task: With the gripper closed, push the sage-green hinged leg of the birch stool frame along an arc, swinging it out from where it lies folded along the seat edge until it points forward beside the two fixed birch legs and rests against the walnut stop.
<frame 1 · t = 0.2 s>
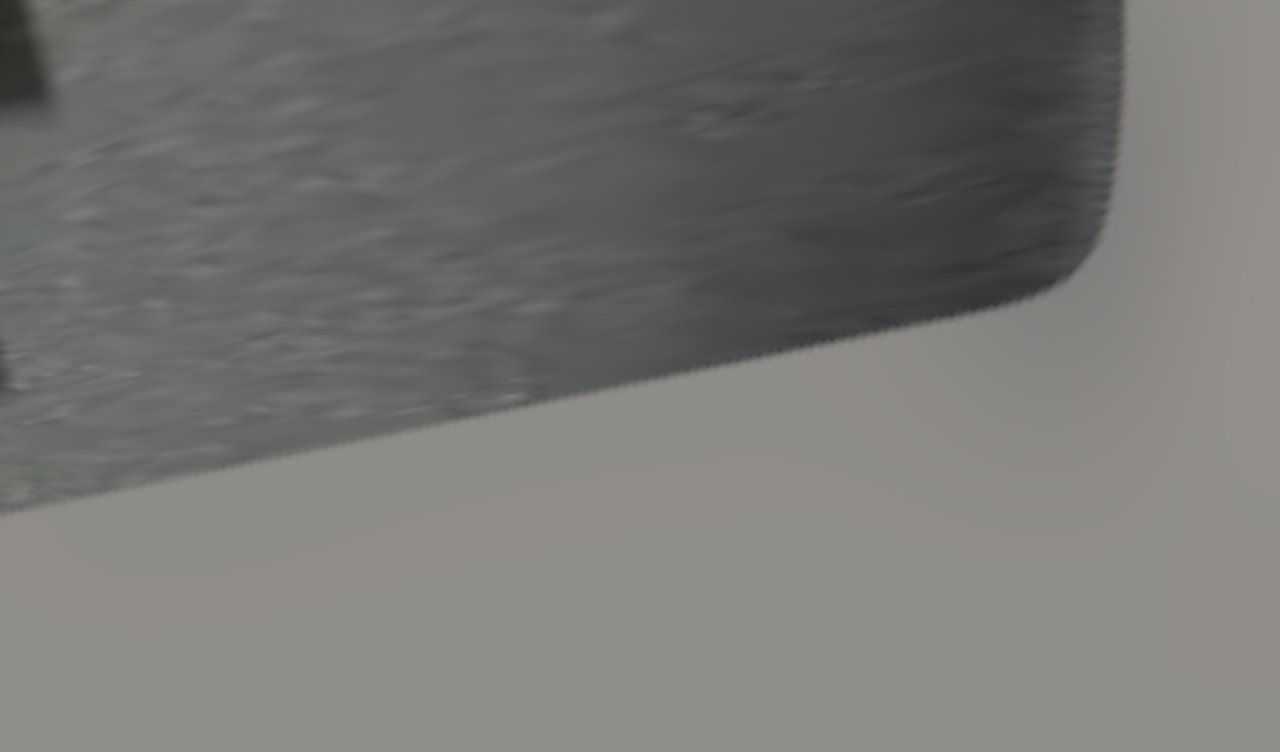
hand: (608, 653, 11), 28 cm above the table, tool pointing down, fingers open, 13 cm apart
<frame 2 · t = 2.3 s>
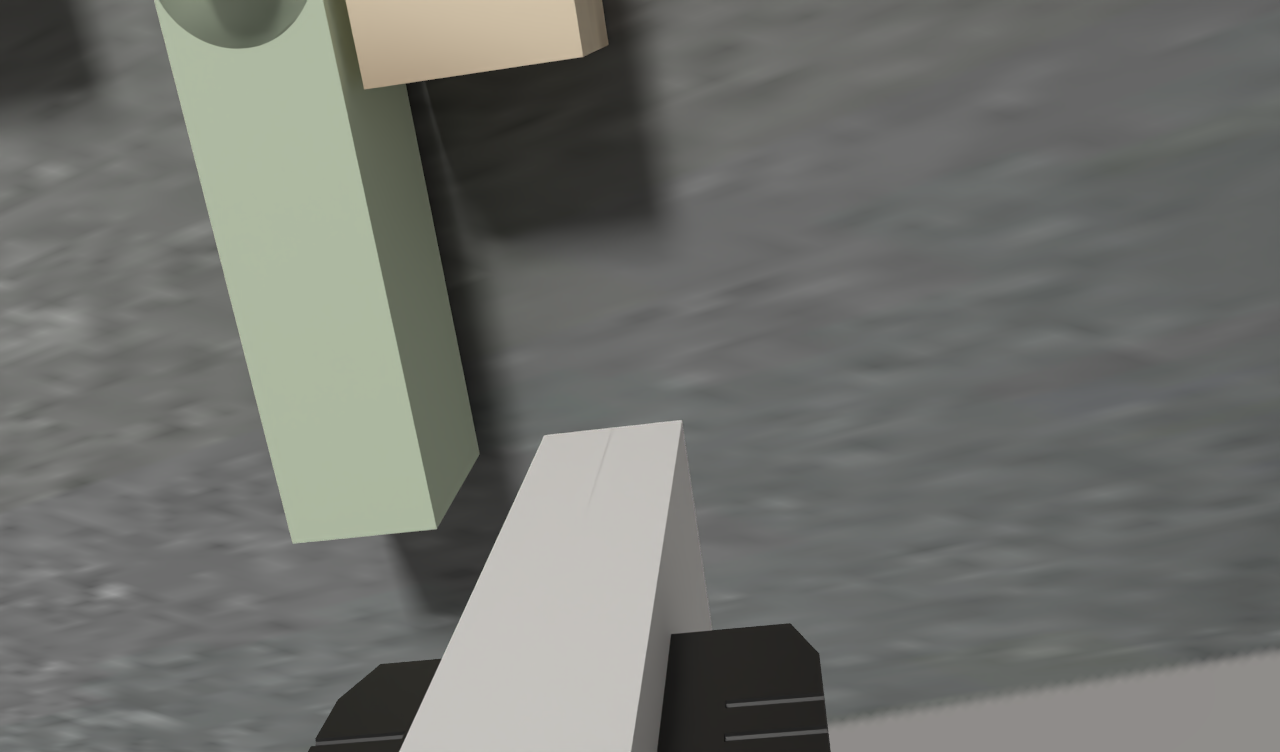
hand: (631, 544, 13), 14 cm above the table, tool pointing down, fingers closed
hinged leg: (320, 212, 24), point 3 cm above the table, hinge at 0.0°
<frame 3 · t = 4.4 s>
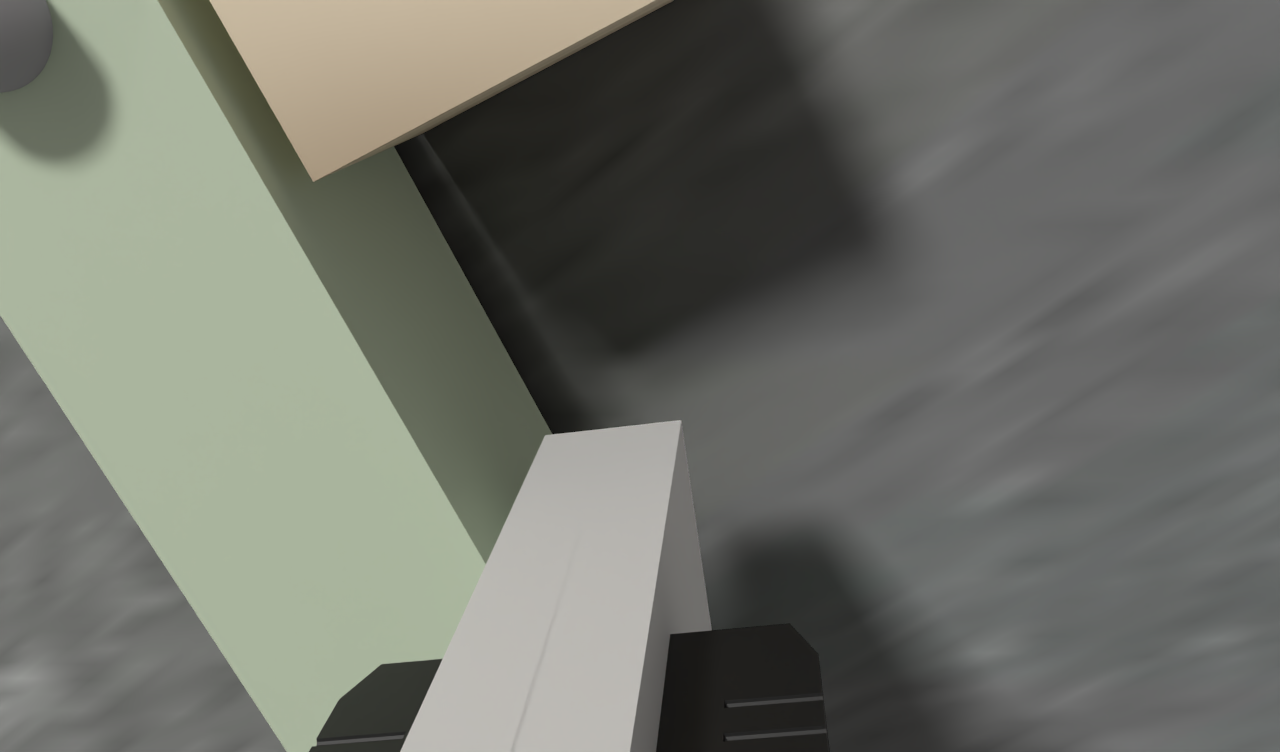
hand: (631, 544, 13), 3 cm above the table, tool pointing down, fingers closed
hinged leg: (321, 420, 13), point 3 cm above the table, hinge at 0.0°, touching gripper
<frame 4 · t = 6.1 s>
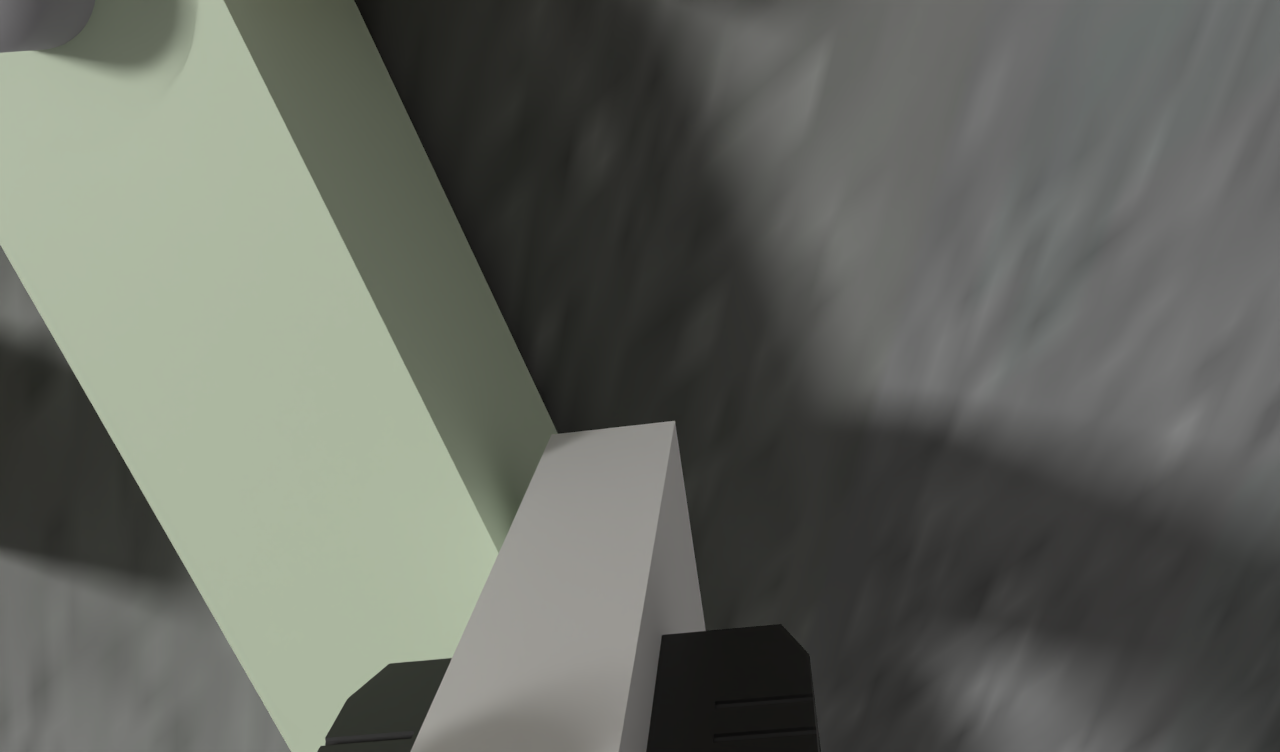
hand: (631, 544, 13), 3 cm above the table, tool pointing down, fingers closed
hinged leg: (333, 402, 13), point 3 cm above the table, hinge at 43.5°, touching gripper
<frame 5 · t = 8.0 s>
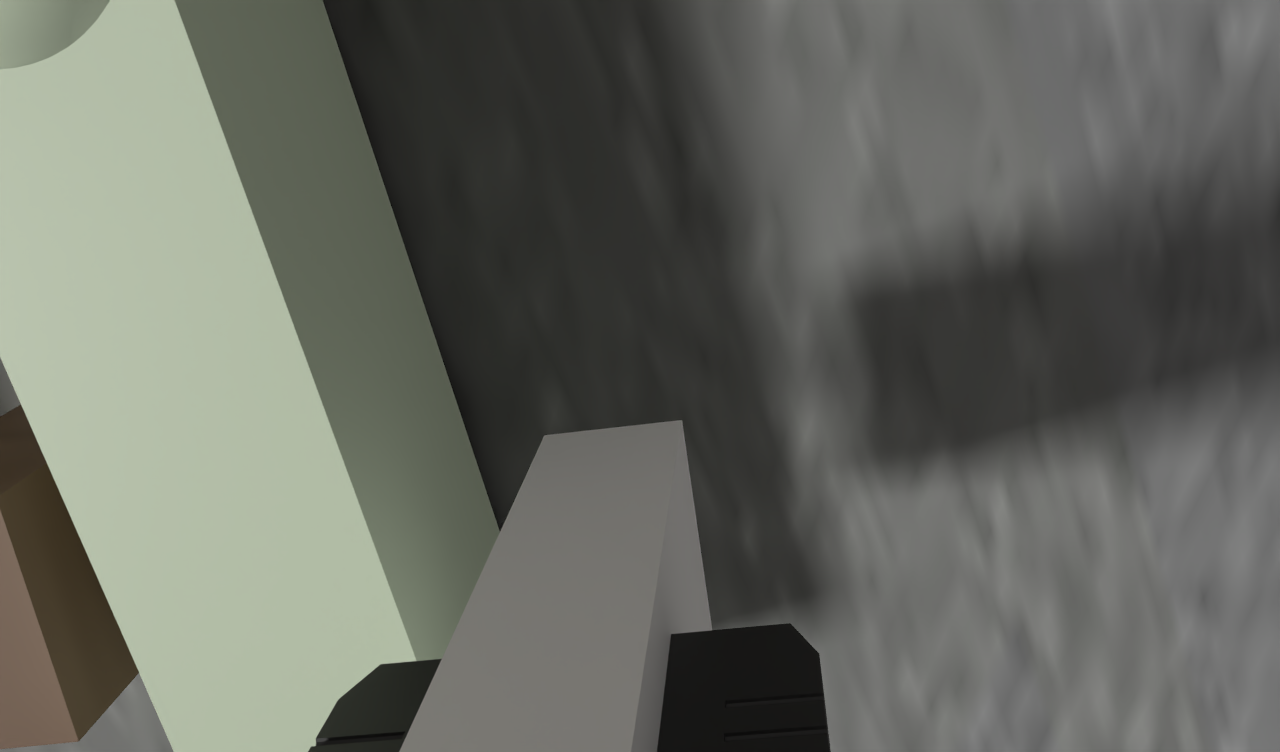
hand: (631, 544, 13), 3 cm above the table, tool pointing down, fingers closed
hinged leg: (229, 346, 14), point 3 cm above the table, hinge at 83.6°
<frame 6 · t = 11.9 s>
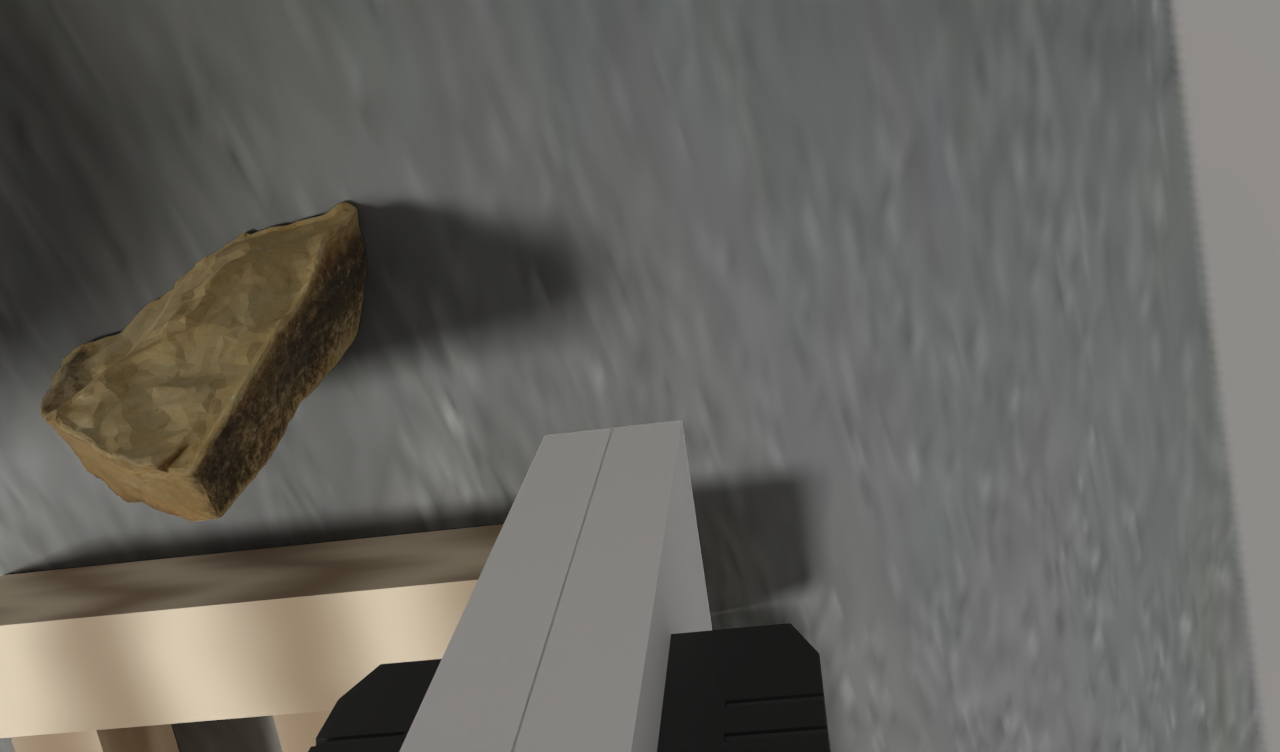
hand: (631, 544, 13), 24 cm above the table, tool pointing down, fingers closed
rock: (221, 318, 39), on the table
stool frame: (344, 594, 42), on the table
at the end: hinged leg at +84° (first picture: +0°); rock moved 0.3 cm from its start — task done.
